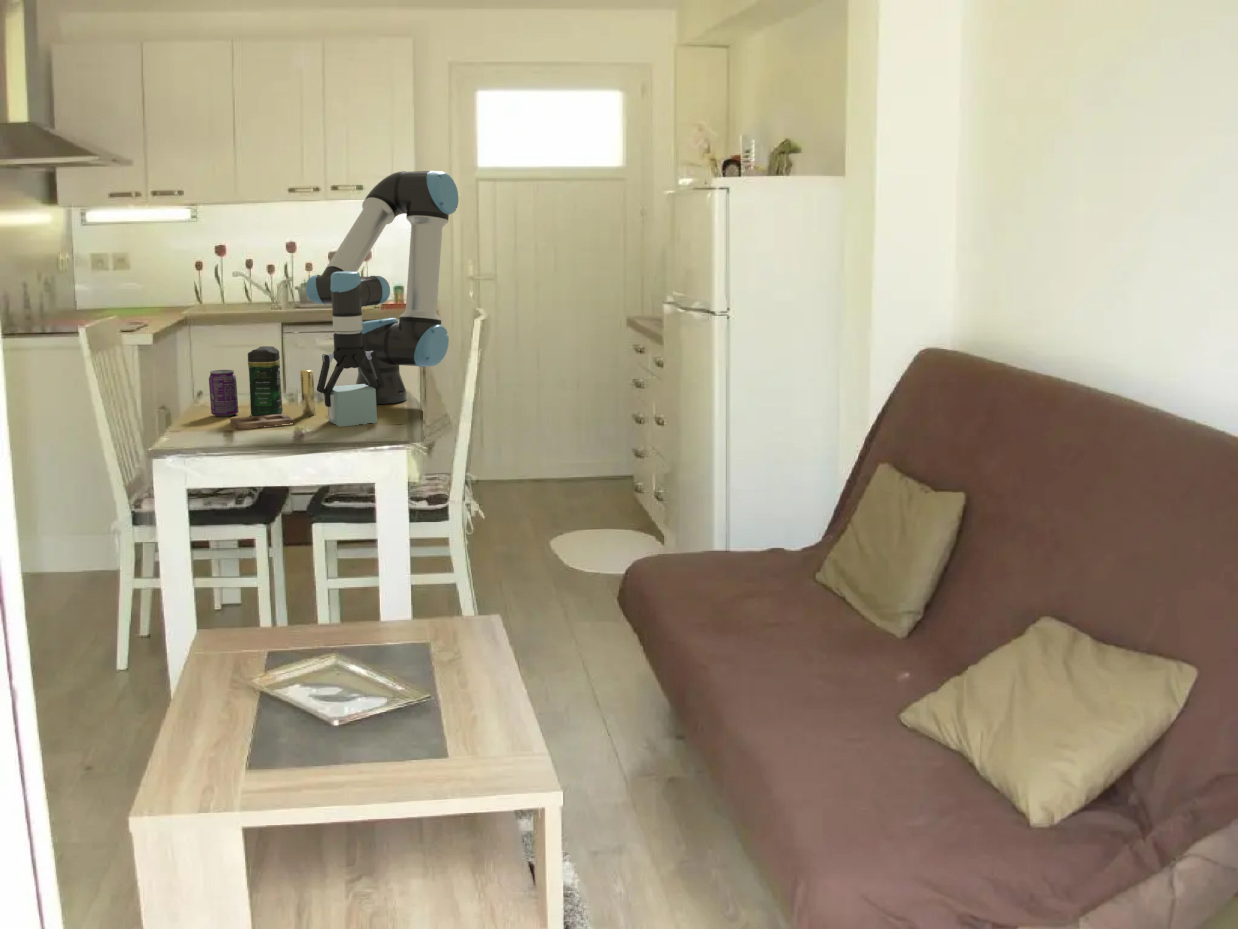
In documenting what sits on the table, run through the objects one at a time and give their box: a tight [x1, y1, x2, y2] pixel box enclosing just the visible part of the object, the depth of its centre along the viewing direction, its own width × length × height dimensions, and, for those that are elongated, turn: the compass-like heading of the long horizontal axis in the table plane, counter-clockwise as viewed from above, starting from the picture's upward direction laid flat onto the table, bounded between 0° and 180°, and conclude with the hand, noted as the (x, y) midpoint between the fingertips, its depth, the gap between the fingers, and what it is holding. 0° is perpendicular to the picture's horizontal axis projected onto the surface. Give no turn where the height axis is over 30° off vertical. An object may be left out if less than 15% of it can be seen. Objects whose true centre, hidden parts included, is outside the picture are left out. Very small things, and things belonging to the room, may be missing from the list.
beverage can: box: [208, 369, 239, 418], centre depth 370 cm, size 7×7×12 cm
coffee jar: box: [247, 345, 284, 417], centre depth 369 cm, size 10×8×19 cm
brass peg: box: [299, 369, 316, 417], centre depth 370 cm, size 3×3×12 cm
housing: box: [327, 383, 378, 427], centre depth 358 cm, size 10×10×9 cm
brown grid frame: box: [229, 413, 295, 430], centre depth 357 cm, size 14×10×1 cm
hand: (352, 417), depth 359 cm, fingers open, 10 cm apart
